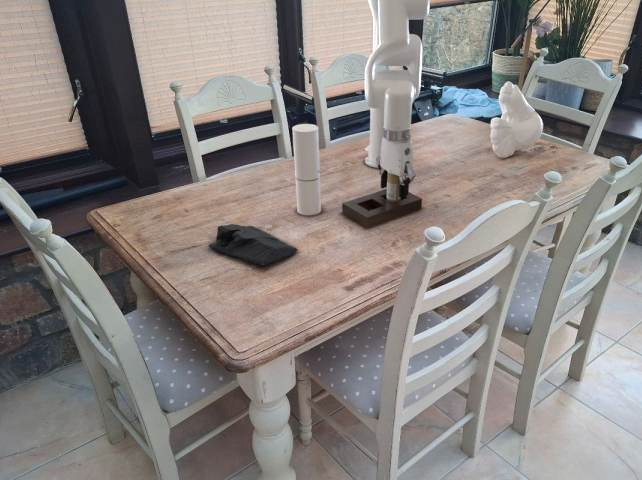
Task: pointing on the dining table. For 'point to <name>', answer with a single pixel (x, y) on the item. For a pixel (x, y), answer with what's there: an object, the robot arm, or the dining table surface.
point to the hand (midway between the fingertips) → (394, 191)
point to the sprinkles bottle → (393, 187)
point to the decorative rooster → (514, 123)
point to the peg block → (379, 208)
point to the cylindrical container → (307, 168)
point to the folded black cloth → (250, 244)
